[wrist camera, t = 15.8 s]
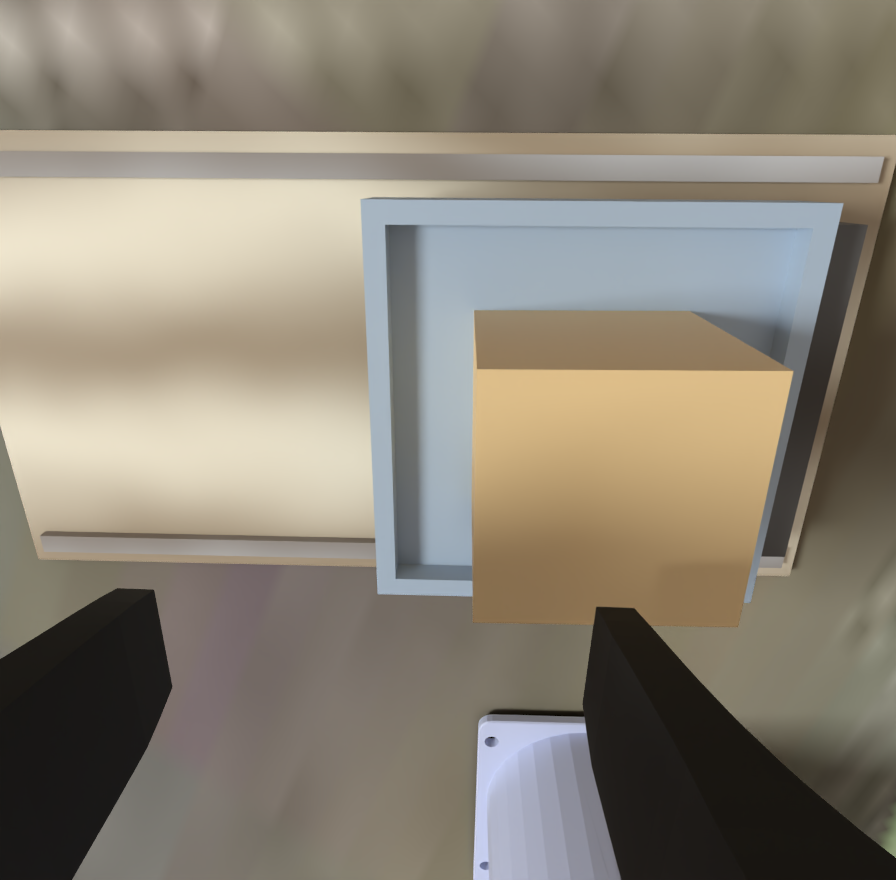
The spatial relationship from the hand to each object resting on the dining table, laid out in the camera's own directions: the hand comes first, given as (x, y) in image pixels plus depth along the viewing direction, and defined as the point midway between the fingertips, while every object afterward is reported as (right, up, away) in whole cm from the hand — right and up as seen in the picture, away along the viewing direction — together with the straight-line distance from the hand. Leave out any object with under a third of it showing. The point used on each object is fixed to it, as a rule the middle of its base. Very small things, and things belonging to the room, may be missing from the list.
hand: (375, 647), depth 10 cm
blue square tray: (+4, +5, +8) cm, 10 cm away
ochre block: (+4, +4, +5) cm, 8 cm away
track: (0, +5, +8) cm, 10 cm away
